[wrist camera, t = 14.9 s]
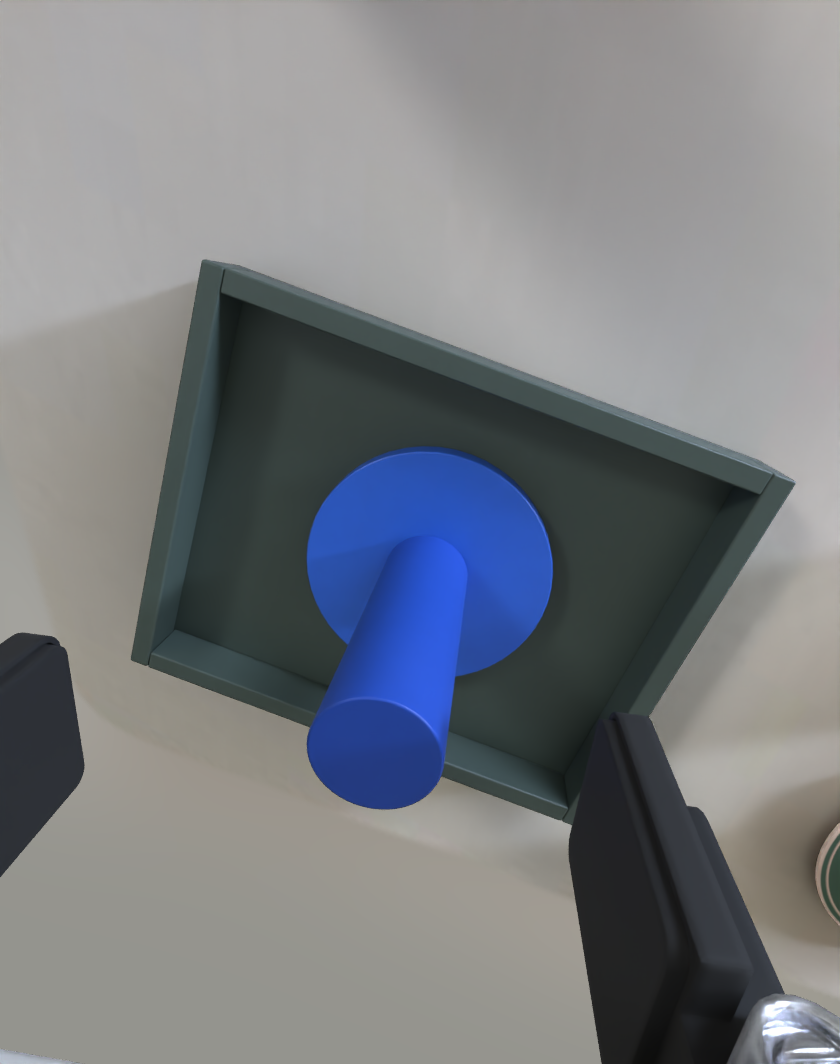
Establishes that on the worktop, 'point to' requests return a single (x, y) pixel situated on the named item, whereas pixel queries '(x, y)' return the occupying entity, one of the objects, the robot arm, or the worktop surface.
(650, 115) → the worktop surface
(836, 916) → the bitten apple on plate
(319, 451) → the tray
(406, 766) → the blue disc with rod
